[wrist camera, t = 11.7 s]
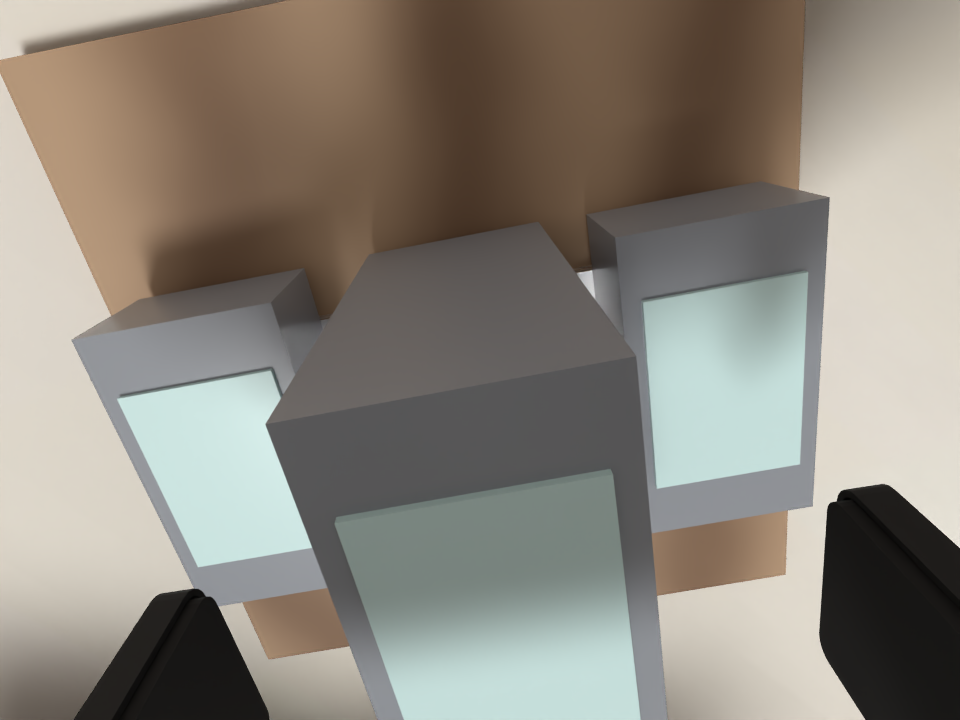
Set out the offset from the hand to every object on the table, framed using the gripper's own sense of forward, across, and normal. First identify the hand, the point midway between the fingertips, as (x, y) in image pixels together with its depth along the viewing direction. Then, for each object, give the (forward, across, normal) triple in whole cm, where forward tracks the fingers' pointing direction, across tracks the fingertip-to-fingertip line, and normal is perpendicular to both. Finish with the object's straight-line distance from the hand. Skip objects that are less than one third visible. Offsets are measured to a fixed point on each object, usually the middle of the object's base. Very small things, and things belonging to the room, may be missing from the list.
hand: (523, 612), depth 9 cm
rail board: (+10, +1, 0) cm, 10 cm away
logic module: (+9, 0, 0) cm, 9 cm away
